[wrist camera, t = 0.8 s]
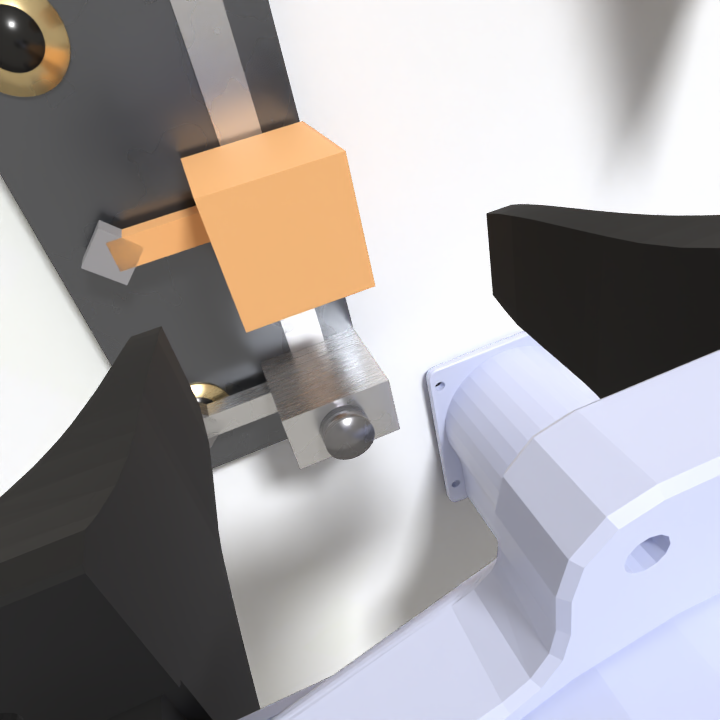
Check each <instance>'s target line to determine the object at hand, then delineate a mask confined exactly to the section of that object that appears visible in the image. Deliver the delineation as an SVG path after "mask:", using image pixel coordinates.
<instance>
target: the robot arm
mask: <svg viewBox="0 0 720 720" xmlns="http://www.w3.org/2000/svg"><path fill="white" fill-rule="evenodd" d="M487 226H488V238H489V251H490V263H491V276H492V288H493V296H494V297H495V298H496V299H497V301H498V302H499V303H500V304H501V306H502V307H503V308H504V310H505V311H506V312H507V313H508V314H509V315H510V317H511V318H512V319H513V320H514V321H515V322H516V324H517V325H518V326H519V327H521V328H522V329H523V330H524V331H523V332H521V333H518V334H516V335H513V336H511V337H508V338H505V339H503V340H500V341H498V342H495V343H493V344H490V345H488V346H485V347H482V348H480V349H477V350H475V351H472V352H470V353H467V354H465V355H462V356H459V357H457V358H454V359H452V360H449V361H447V362H444V363H442V364H439V365H436V366H434V367H432V368H431V369H430V370H429V371H428V372H427V374H426V381H427V386H428V392H429V397H430V403H431V408H432V414H433V419H434V425H435V431H436V436H437V442H438V447H439V453H440V458H441V464H442V469H443V475H444V480H445V486H446V491H447V496H448V497H449V499H450V500H451V501H452V502H457V501H460V500H462V499H465V498H467V497H468V498H469V499H470V501H471V502H472V503H473V505H474V506H475V508H476V509H477V511H478V512H479V514H480V515H481V517H482V518H483V520H484V521H485V522H486V524H487V525H488V527H489V528H490V530H491V531H492V533H493V534H494V536H495V537H496V539H497V540H498V552H497V557H496V559H495V560H494V561H492V562H491V563H489V564H488V565H486V566H485V567H484V568H482V569H481V570H479V571H478V572H477V573H475V574H474V575H472V576H471V577H470V578H468V579H467V580H465V581H464V582H463V583H461V584H460V585H458V586H457V587H456V588H454V589H453V590H451V591H450V592H449V593H447V594H446V595H444V596H443V597H442V598H440V599H439V600H437V601H436V602H435V603H433V604H432V605H430V606H429V607H428V608H426V609H425V610H423V611H422V612H421V613H419V614H418V615H416V616H415V617H414V618H412V619H411V620H409V621H408V622H407V623H405V624H404V625H402V626H401V627H400V628H398V629H397V630H395V631H394V632H393V633H391V634H390V635H388V636H387V637H386V638H384V639H383V640H381V641H380V642H379V643H377V644H376V645H374V646H373V647H372V648H370V649H369V650H368V651H366V652H365V653H363V654H362V655H361V656H359V657H358V658H356V659H355V660H354V661H352V662H351V663H349V664H348V665H347V666H345V667H344V668H342V669H341V670H340V671H338V672H337V673H335V674H334V675H333V676H331V677H329V678H326V679H324V680H322V681H320V682H318V683H316V684H313V685H311V686H309V687H307V688H305V689H303V690H300V691H298V692H296V693H294V694H292V695H290V696H288V697H285V698H283V699H281V700H279V701H277V702H275V703H272V704H270V705H268V706H266V707H264V708H262V709H260V706H259V702H258V699H257V695H256V691H255V687H254V683H253V679H252V675H251V672H250V668H249V664H248V660H247V656H246V652H245V648H244V644H243V640H242V636H241V632H240V628H239V624H238V620H237V615H236V611H235V607H234V603H233V599H232V595H231V590H230V586H229V581H228V577H227V572H226V568H225V564H224V559H223V555H222V550H221V544H220V537H219V531H218V521H217V512H216V502H215V492H214V483H213V473H212V464H211V455H210V446H209V440H208V436H207V432H206V428H205V424H204V420H203V416H202V413H201V409H200V405H199V403H198V401H197V398H196V396H195V394H194V392H193V390H192V388H191V386H190V384H189V382H188V380H187V378H186V376H185V374H184V372H183V370H182V367H181V365H180V363H179V361H178V359H177V357H176V355H175V353H174V351H173V349H172V347H171V345H170V343H169V341H168V339H167V337H166V334H165V332H164V330H163V328H162V326H160V327H157V328H154V329H152V330H149V331H146V332H143V333H140V334H137V335H134V336H131V337H130V339H129V340H128V341H127V343H126V344H125V346H124V347H123V349H122V351H121V352H120V354H119V355H118V357H117V359H116V360H115V362H114V363H113V365H112V367H111V368H110V370H109V371H108V373H107V374H106V376H105V378H104V379H103V381H102V382H101V384H100V385H99V387H98V388H97V390H96V391H95V393H94V394H93V396H92V397H91V398H90V400H89V401H88V402H87V404H86V405H85V406H84V408H83V409H82V411H81V412H80V413H79V415H78V416H77V417H76V419H75V420H74V421H73V423H72V424H71V425H70V427H69V428H68V429H67V430H66V431H65V433H64V434H63V435H62V436H61V437H60V439H59V440H58V441H57V442H56V443H55V444H54V445H53V446H52V447H51V449H50V450H49V451H48V452H47V453H46V454H45V455H44V456H43V457H42V458H41V459H40V460H39V461H38V462H37V463H36V464H35V465H34V467H33V468H32V469H30V470H29V471H28V472H27V473H26V474H25V475H24V476H23V477H22V478H21V479H20V480H19V481H17V482H16V483H15V484H14V485H13V486H12V487H11V488H10V489H9V490H8V491H7V492H5V493H4V494H3V495H2V496H1V497H0V720H720V215H705V216H666V215H644V214H628V213H615V212H604V211H594V210H584V209H575V208H565V207H556V206H545V205H530V204H517V205H510V206H507V207H504V208H501V209H498V210H495V211H492V212H489V213H487ZM439 382H441V383H440V385H438V386H436V384H437V383H439ZM435 386H436V387H435Z"/></svg>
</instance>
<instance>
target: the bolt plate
mask: <svg viewBox="0 0 720 720" xmlns="http://www.w3.org/2000/svg"><path fill="white" fill-rule="evenodd" d="M298 122H300V121H299V117H298V114H297V110H296V106H295V102H294V98H293V94H292V90H291V86H290V83H289V79H288V75H287V71H286V67H285V63H284V59H283V56H282V52H281V48H280V44H279V40H278V36H277V32H276V29H275V25H274V21H273V17H272V13H271V9H270V5H269V2H268V0H0V174H1V176H2V177H3V179H4V181H5V183H6V184H7V186H8V188H9V189H10V191H11V193H12V195H13V196H14V198H15V200H16V202H17V203H18V205H19V207H20V208H21V210H22V212H23V214H24V215H25V217H26V219H27V220H28V222H29V224H30V226H31V227H32V229H33V231H34V233H35V234H36V236H37V238H38V239H39V241H40V243H41V245H42V246H43V248H44V250H45V251H46V253H47V255H48V257H49V258H50V260H51V262H52V264H53V265H54V267H55V269H56V270H57V272H58V274H59V276H60V277H61V279H62V281H63V282H64V284H65V286H66V288H67V289H68V291H69V293H70V295H71V296H72V298H73V300H74V301H75V303H76V305H77V307H78V308H79V310H80V312H81V313H82V315H83V317H84V319H85V320H86V322H87V324H88V326H89V327H90V329H91V331H92V332H93V334H94V336H95V338H96V339H97V341H98V343H99V344H100V346H101V348H102V350H103V351H104V353H105V355H106V357H107V358H108V360H109V362H110V363H111V365H113V363H114V362H115V360H116V359H117V357H118V355H119V354H120V352H121V351H122V349H123V347H124V346H125V344H126V343H127V341H128V340H129V339H130V337H131V336H134V335H137V334H140V333H143V332H146V331H149V330H152V329H154V328H157V327H160V326H162V328H163V330H164V332H165V334H166V337H167V339H168V341H169V343H170V345H171V347H172V349H173V351H174V353H175V355H176V357H177V359H178V361H179V363H180V365H181V367H182V370H183V372H184V374H185V376H186V378H187V380H188V382H189V384H190V386H191V388H192V390H193V392H194V394H195V396H196V398H197V401H198V403H199V405H200V409H201V413H202V416H203V420H204V424H205V428H206V432H207V436H208V440H209V446H210V455H211V464H212V468H214V467H217V466H219V465H222V464H224V463H227V462H229V461H232V460H234V459H237V458H239V457H242V456H244V455H247V454H250V453H252V452H255V451H257V450H260V449H262V448H265V447H267V446H270V445H272V444H275V443H277V442H280V441H282V440H285V439H287V438H288V439H289V442H290V444H291V447H292V449H293V452H294V455H295V457H296V460H297V462H298V465H299V467H300V469H303V468H305V467H308V466H310V465H313V464H315V463H317V462H320V461H322V460H325V459H327V458H330V457H332V456H333V457H335V458H337V459H343V460H344V459H352V458H355V457H357V456H359V455H361V454H363V453H364V452H365V451H366V450H367V449H368V448H369V447H370V446H371V444H372V443H373V440H374V439H377V438H379V437H382V436H384V435H386V434H389V433H391V432H394V431H396V430H399V429H400V427H399V423H398V418H397V414H396V410H395V405H394V401H393V396H392V392H391V388H390V383H389V380H388V378H387V377H386V375H385V374H384V372H383V371H382V370H381V368H380V367H379V365H378V364H377V362H376V361H375V359H374V358H373V356H372V355H371V353H370V352H369V351H368V349H367V348H366V346H365V345H364V343H363V342H362V340H361V339H360V337H359V336H358V335H357V333H356V332H355V330H354V329H353V326H352V322H351V318H350V314H349V310H348V306H347V303H346V299H345V297H344V298H341V299H338V300H335V301H333V302H330V303H327V304H324V305H322V306H319V307H316V308H313V309H310V310H308V311H305V312H302V313H299V314H297V315H294V316H291V317H288V318H286V319H283V320H280V321H277V322H275V323H272V324H269V325H266V326H263V327H261V328H258V329H255V330H252V331H250V332H247V333H246V331H245V328H244V326H243V323H242V321H241V318H240V315H239V313H238V310H237V308H236V305H235V303H234V300H233V298H232V295H231V292H230V290H229V287H228V285H227V282H226V280H225V277H224V275H223V272H222V269H221V267H220V264H219V262H218V259H217V257H216V254H215V252H214V249H213V247H212V244H211V242H208V243H205V244H202V245H199V246H196V247H193V248H190V249H187V250H184V251H181V252H178V253H175V254H172V255H169V256H166V257H163V258H160V259H157V260H154V261H151V262H148V263H145V264H142V265H139V266H136V267H135V269H134V271H133V274H132V276H131V278H130V280H129V282H128V285H125V284H122V283H119V282H117V281H114V280H111V279H109V278H106V277H103V276H101V275H98V274H95V273H93V272H90V271H87V270H85V269H82V268H81V266H82V260H83V257H84V254H85V252H86V250H87V247H88V245H89V243H90V240H91V238H92V235H93V233H94V231H95V228H96V226H97V224H98V221H99V220H101V221H103V222H105V223H108V224H110V225H112V226H115V227H117V228H120V229H124V228H128V227H131V226H134V225H137V224H140V223H143V222H146V221H149V220H152V219H156V218H159V217H162V216H165V215H168V214H171V213H174V212H177V211H180V210H183V209H187V208H190V207H193V206H196V203H195V201H194V198H193V195H192V192H191V189H190V186H189V183H188V180H187V177H186V174H185V171H184V168H183V165H182V162H181V158H184V157H187V156H191V155H194V154H197V153H200V152H203V151H207V150H210V149H213V148H216V147H220V146H223V145H226V144H229V143H233V142H236V141H239V140H242V139H246V138H249V137H252V136H255V135H259V134H262V133H265V132H268V131H272V130H275V129H278V128H281V127H285V126H288V125H291V124H294V123H298Z"/></svg>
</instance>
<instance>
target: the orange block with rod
mask: <svg viewBox="0 0 720 720" xmlns="http://www.w3.org/2000/svg"><path fill="white" fill-rule="evenodd" d="M181 162H182V165H183V168H184V171H185V174H186V177H187V180H188V183H189V186H190V189H191V192H192V195H193V198H194V201H195V203H196V206H193V207H190V208H187V209H183V210H180V211H177V212H174V213H171V214H168V215H165V216H162V217H159V218H156V219H152V220H149V221H146V222H143V223H140V224H137V225H134V226H131V227H128V228H124V229H120V228H117V227H115V226H112V225H110V224H108V223H105V222H103V221H101V220H99V221H98V224H97V226H96V228H95V231H94V233H93V235H92V238H91V240H90V243H89V245H88V247H87V250H86V252H85V254H84V257H83V260H82V266H81V268H82V269H85V270H87V271H90V272H93V273H95V274H98V275H101V276H103V277H106V278H109V279H111V280H114V281H117V282H119V283H122V284H125V285H128V282H129V280H130V278H131V276H132V274H133V271H134V269H135V267H136V266H139V265H142V264H145V263H148V262H151V261H154V260H157V259H160V258H163V257H166V256H169V255H172V254H175V253H178V252H181V251H184V250H187V249H190V248H193V247H196V246H199V245H202V244H205V243H208V242H211V244H212V247H213V249H214V252H215V254H216V257H217V259H218V262H219V264H220V267H221V269H222V272H223V275H224V277H225V280H226V282H227V285H228V287H229V290H230V292H231V295H232V298H233V300H234V303H235V305H236V308H237V310H238V313H239V315H240V318H241V321H242V323H243V326H244V328H245V331H246V333H247V332H250V331H252V330H255V329H258V328H261V327H263V326H266V325H269V324H272V323H275V322H277V321H280V320H283V319H286V318H288V317H291V316H294V315H297V314H299V313H302V312H305V311H308V310H310V309H313V308H316V307H319V306H322V305H324V304H327V303H330V302H333V301H335V300H338V299H341V298H344V297H346V296H349V295H352V294H355V293H357V292H360V291H363V290H366V289H369V288H371V287H374V286H375V283H374V278H373V274H372V269H371V265H370V260H369V256H368V251H367V246H366V242H365V237H364V233H363V228H362V224H361V219H360V215H359V210H358V206H357V201H356V197H355V192H354V188H353V183H352V179H351V174H350V169H349V165H348V160H347V156H346V151H345V150H343V149H342V148H341V147H339V146H338V145H336V144H335V143H333V142H332V141H330V140H329V139H328V138H326V137H325V136H323V135H322V134H320V133H319V132H318V131H316V130H315V129H313V128H312V127H310V126H309V125H308V124H306V123H305V122H303V121H301V122H298V123H294V124H291V125H288V126H285V127H281V128H278V129H275V130H272V131H268V132H265V133H262V134H259V135H255V136H252V137H249V138H246V139H242V140H239V141H236V142H233V143H229V144H226V145H223V146H220V147H216V148H213V149H210V150H207V151H203V152H200V153H197V154H194V155H191V156H187V157H184V158H181Z"/></svg>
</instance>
